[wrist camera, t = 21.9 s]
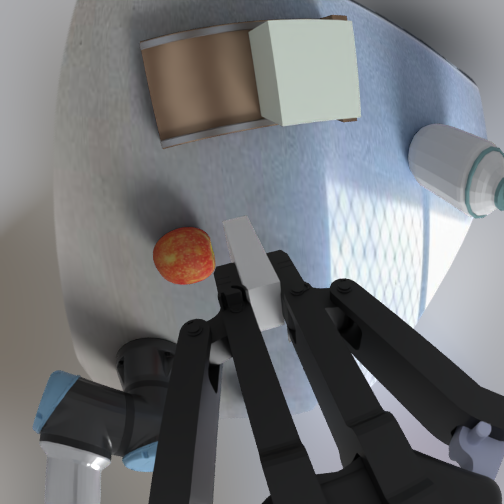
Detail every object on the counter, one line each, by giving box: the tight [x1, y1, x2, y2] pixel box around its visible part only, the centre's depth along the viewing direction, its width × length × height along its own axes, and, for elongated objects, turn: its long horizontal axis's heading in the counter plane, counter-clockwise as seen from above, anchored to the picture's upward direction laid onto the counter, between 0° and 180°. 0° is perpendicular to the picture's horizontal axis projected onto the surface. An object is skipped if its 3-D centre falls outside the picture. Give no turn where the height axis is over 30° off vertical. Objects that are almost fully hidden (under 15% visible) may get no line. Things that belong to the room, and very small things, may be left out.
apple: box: [153, 227, 215, 284], centre depth 42 cm, size 8×8×8 cm
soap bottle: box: [408, 123, 504, 218], centre depth 34 cm, size 12×12×31 cm
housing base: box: [139, 15, 357, 149], centre depth 32 cm, size 24×14×6 cm, turn 98°
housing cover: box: [248, 19, 361, 126], centre depth 29 cm, size 9×11×8 cm
